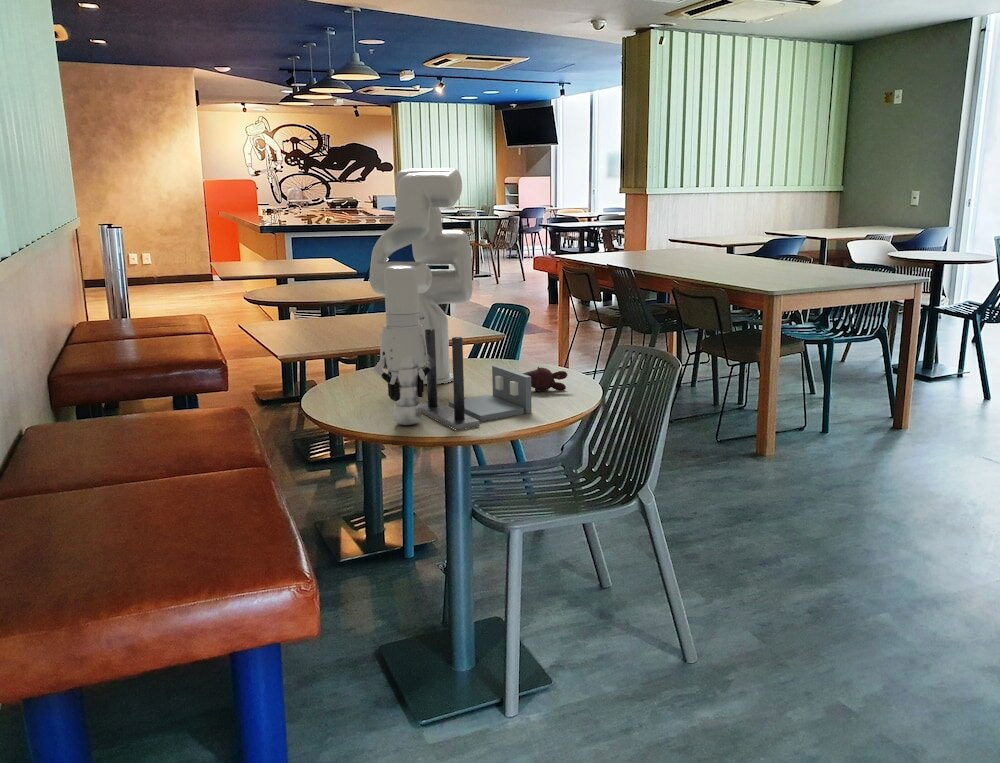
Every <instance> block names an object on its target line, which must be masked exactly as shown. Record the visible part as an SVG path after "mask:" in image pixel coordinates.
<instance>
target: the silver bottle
mask: <svg viewBox="0 0 1000 763" xmlns="http://www.w3.org/2000/svg"><path fill="white" fill-rule="evenodd" d="M396 373H397V377H396V381H395V384H397V385H398V401H394V405H393V413H392V414H393V415H392V416H393V419H394V421H395V423H396V424H397V425H402V426H410V425H416V424H418V423H420V420H421V417H422V413H421V408H420V404H419V403H420V399H419V398H420V397H418V386H417V384H418V361H417V359H415V358H414V357H412V356H407V357H405V358H403V359H402V360H401V361H400V364H399V371H397V372H396Z"/></svg>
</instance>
